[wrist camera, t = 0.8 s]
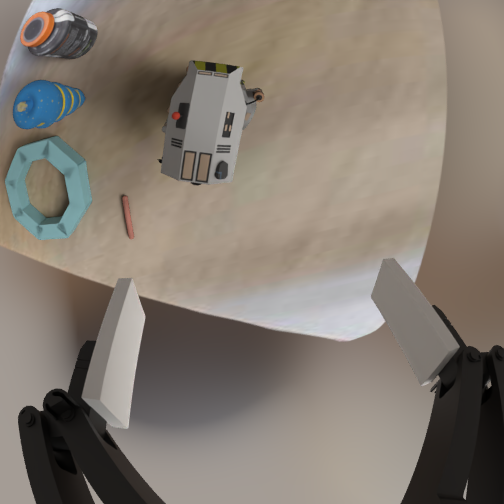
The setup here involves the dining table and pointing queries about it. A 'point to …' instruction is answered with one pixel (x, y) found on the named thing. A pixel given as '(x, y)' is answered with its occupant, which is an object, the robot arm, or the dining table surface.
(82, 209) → the teal octagonal ring
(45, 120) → the ornament
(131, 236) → the reddish pink rod
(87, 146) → the dining table surface
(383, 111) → the dining table surface
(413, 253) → the dining table surface
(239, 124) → the figurine
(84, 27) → the pill bottle
